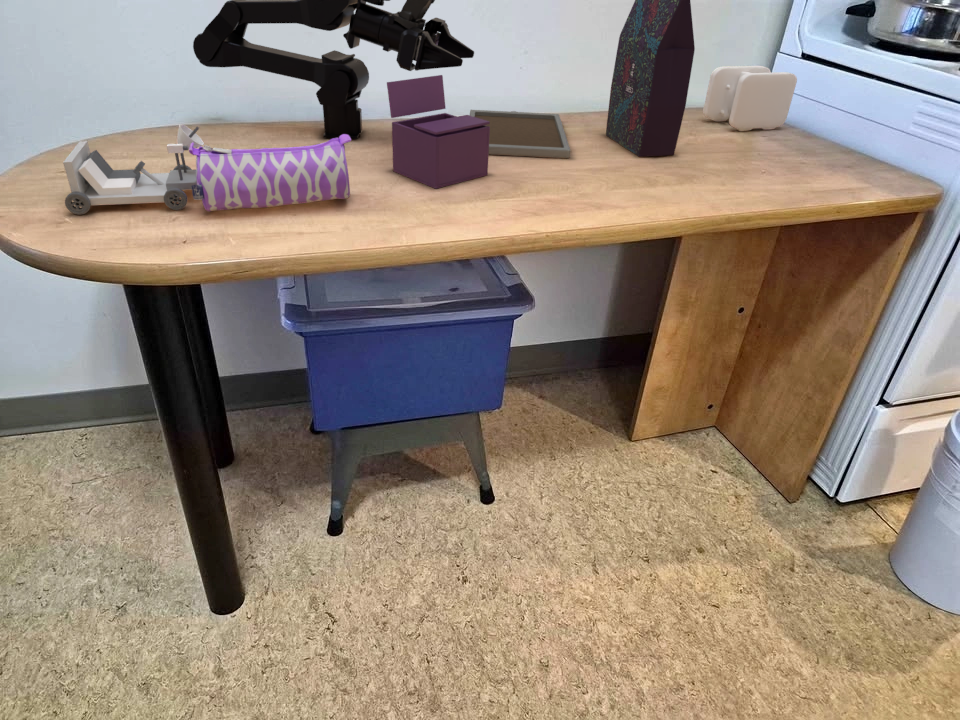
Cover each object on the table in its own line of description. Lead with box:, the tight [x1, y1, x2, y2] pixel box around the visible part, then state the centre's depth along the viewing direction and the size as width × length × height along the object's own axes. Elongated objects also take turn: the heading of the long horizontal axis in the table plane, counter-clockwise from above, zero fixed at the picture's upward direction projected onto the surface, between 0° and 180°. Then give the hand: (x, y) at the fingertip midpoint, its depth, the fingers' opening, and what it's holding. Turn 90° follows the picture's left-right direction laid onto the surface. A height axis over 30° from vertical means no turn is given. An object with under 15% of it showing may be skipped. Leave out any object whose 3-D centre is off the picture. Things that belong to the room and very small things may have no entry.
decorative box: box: [605, 0, 696, 158], centre depth 128 cm, size 8×16×28 cm, turn 16°
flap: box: [386, 74, 446, 119], centre depth 113 cm, size 5×11×1 cm
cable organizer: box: [702, 65, 798, 132], centre depth 150 cm, size 15×11×12 cm
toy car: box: [62, 123, 205, 215], centre depth 97 cm, size 18×10×12 cm
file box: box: [391, 112, 490, 190], centre depth 113 cm, size 11×12×9 cm
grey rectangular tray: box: [469, 109, 571, 159], centre depth 137 cm, size 19×2×30 cm
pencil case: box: [188, 134, 352, 212], centre depth 98 cm, size 22×9×10 cm, turn 111°
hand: (468, 58), depth 120 cm, fingers open, 9 cm apart
